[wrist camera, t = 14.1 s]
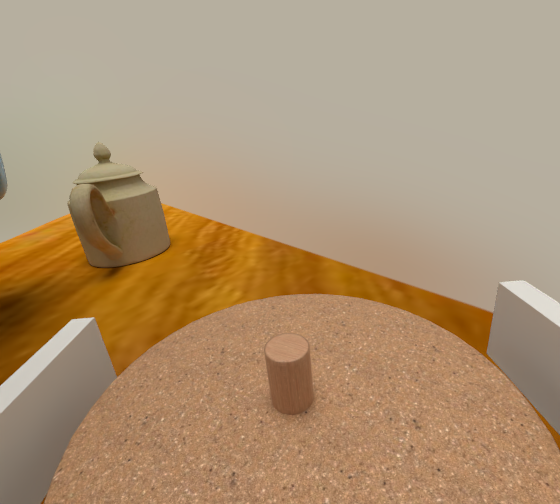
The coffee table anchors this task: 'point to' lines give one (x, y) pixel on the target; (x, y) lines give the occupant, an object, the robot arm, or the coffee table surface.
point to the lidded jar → (310, 416)
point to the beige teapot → (117, 214)
